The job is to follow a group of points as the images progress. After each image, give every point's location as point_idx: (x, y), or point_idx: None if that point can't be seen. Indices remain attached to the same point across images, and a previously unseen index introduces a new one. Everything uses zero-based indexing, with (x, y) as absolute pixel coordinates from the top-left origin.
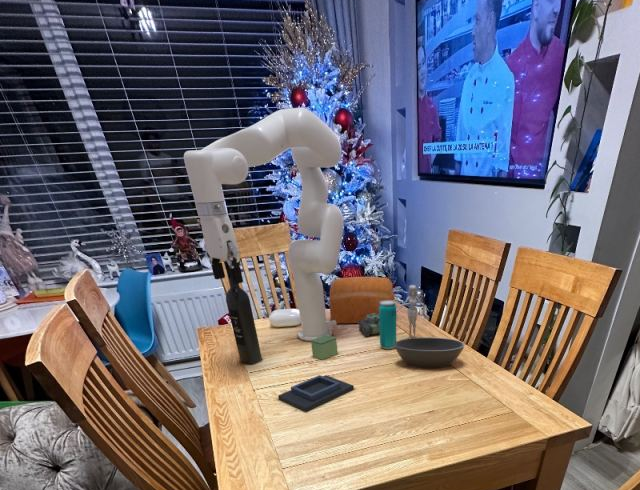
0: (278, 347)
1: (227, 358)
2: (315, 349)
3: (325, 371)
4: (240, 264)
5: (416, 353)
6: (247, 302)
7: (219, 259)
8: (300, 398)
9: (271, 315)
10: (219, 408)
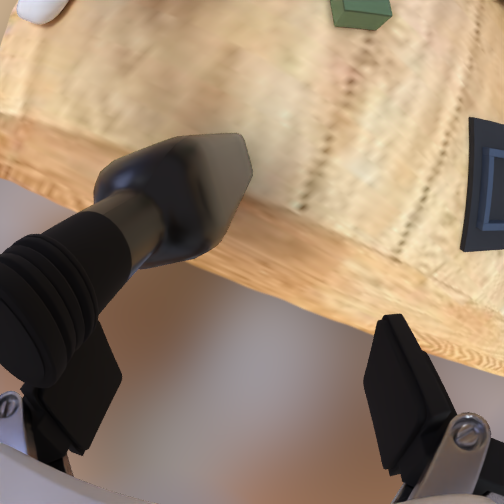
0: (185, 51)
1: None
2: (357, 20)
3: (439, 84)
4: (488, 429)
5: None
6: (212, 162)
7: (30, 431)
8: (498, 232)
9: (34, 14)
10: None
